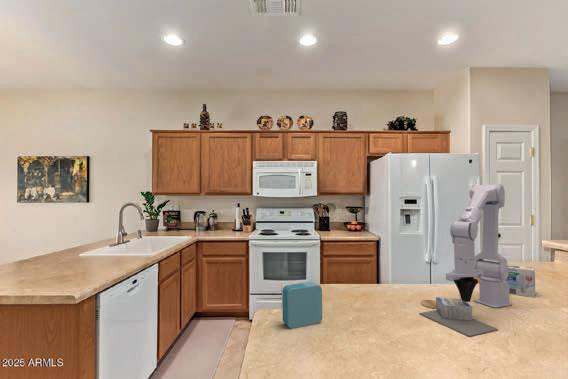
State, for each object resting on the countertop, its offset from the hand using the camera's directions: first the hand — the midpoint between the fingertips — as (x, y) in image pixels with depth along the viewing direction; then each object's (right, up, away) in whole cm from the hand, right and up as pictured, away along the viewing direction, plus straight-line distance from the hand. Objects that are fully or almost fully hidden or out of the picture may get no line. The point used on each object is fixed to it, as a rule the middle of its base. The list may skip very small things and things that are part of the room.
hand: (465, 300), depth 95 cm
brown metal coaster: (-4, -6, +13) cm, 15 cm away
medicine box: (+2, -3, +2) cm, 4 cm away
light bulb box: (+37, -7, +26) cm, 46 cm away
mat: (-4, -6, -2) cm, 7 cm away
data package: (-53, -7, -2) cm, 53 cm away
